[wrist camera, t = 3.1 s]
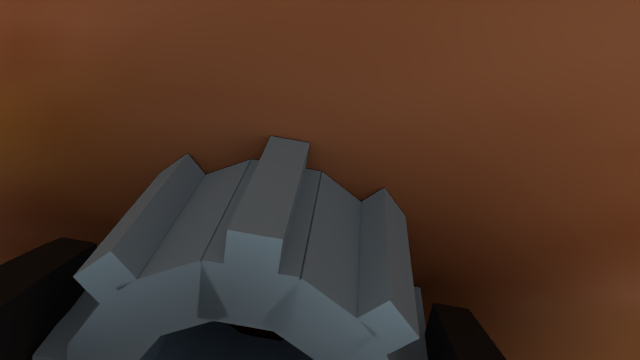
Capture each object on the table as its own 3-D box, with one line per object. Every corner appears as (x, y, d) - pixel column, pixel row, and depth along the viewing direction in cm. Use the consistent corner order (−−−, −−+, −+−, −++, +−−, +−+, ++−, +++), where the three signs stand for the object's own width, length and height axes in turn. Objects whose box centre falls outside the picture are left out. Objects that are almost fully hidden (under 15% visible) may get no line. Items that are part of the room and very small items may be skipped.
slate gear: (452, 168, 11) (488, 275, 7) (386, 412, 13) (392, 575, 10) (129, 111, 11) (23, 193, 7) (122, 365, 13) (40, 512, 10)
